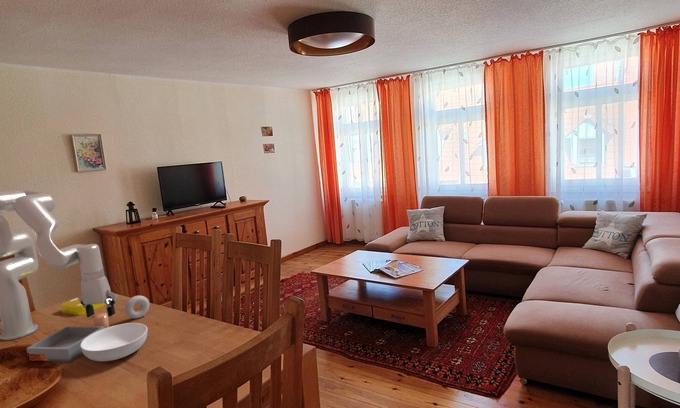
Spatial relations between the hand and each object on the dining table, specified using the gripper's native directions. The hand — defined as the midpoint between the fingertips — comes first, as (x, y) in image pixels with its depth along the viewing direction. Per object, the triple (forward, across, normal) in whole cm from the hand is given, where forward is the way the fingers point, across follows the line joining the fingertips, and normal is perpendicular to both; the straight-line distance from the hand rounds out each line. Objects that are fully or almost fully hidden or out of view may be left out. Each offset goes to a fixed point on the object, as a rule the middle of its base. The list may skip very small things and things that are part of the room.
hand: (101, 315), depth 158 cm
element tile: (+7, -31, +24) cm, 40 cm away
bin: (+7, -3, -14) cm, 16 cm away
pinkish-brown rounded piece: (+7, -1, 0) cm, 7 cm away
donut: (+7, +6, +13) cm, 16 cm away
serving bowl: (+8, +19, -16) cm, 26 cm away
